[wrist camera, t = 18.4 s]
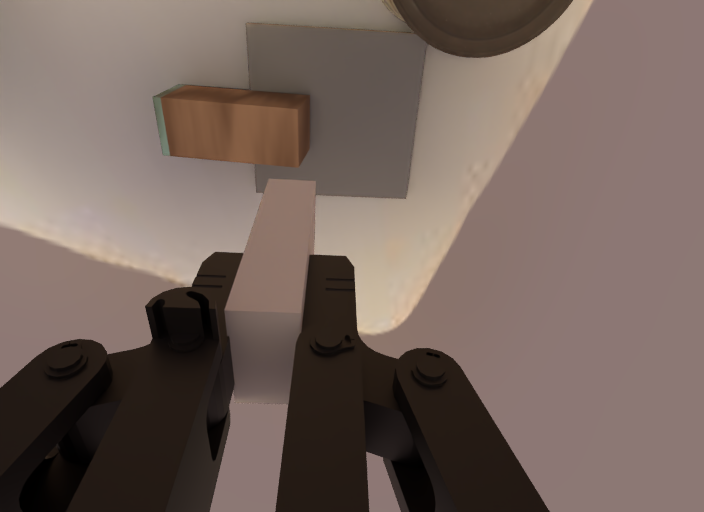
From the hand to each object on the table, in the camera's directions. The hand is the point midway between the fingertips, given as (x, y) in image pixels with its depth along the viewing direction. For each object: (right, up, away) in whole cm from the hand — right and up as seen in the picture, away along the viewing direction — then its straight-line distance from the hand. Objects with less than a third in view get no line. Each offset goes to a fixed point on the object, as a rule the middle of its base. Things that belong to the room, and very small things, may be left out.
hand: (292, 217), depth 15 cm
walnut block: (-2, +9, +21) cm, 23 cm away
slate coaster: (0, +11, +24) cm, 26 cm away
